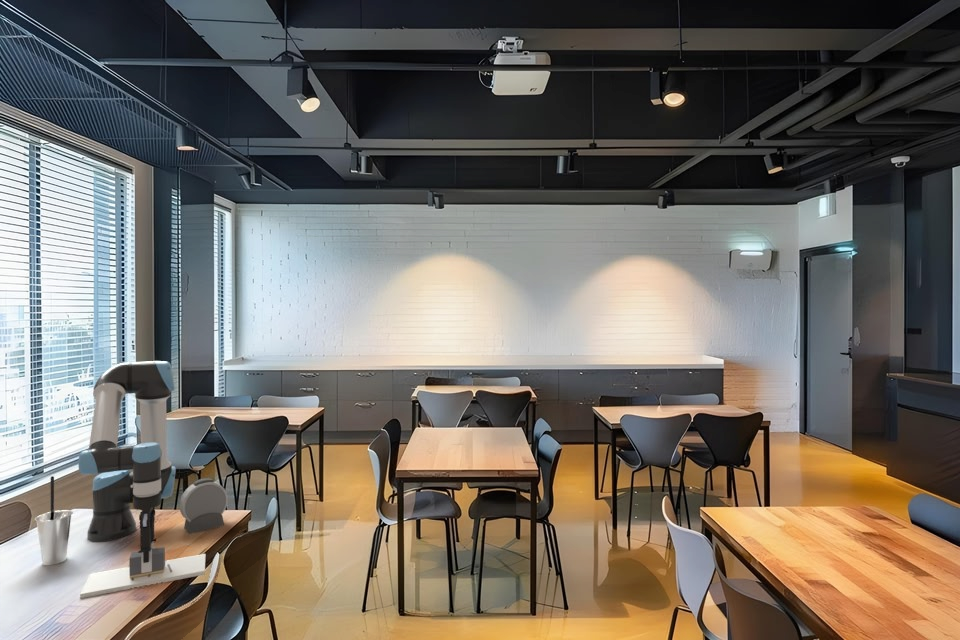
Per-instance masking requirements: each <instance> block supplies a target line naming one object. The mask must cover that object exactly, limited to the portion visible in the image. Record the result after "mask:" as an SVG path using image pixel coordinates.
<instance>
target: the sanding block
mask: <svg viewBox="0 0 960 640" xmlns="http://www.w3.org/2000/svg"><path fill="white" fill-rule="evenodd" d="M138 551H139V550H138ZM138 551H132V552H131V554H130V556H129V559H128V560H129V566H128V567H129V571H130V578H133V577H139V576H144V575H149V574H155V573H160V572H164V568H165V561H166V547H165V546H161V547H154V549H152V571H151V572H146V573H141V553H138Z"/></svg>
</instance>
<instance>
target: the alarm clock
mask: <svg viewBox="0 0 960 640" xmlns="http://www.w3.org/2000/svg"><path fill="white" fill-rule="evenodd" d="M228 502H229V497H228V492H227V490H226V489H225V488H224V487H223V486H222V485H221V484H219V482H216V481H215V479H213V478H208V477H207V478H206V477H205V478H203V477H202V478H200V479H198V480H195V481H194V482H193V483H192V484H190V485H189V486H188V487H187V488H186V489H185V491H183V493H182V494H181V498H180V499H179V512H180V514H181V516H182V518H184V519H185V520H184V526H183V527H184V528H183V529H184V530H185V531H186V532H187V533H188V534H195V533H201V532H205V531H209V530H213V529H217V528H219V527H222V526H224V525H225V523H224V517H223V514H224V512H225V511H226V508H227V507H228Z"/></svg>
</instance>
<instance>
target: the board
mask: <svg viewBox="0 0 960 640" xmlns="http://www.w3.org/2000/svg"><path fill="white" fill-rule="evenodd" d="M206 557H207V555H206V553H201V554H196V555H190V556H183V557H179V558H177V557H176V558H172V559H168V560H166V559H165V568H164V572H160V573H155V574H149V575H144V576H139V577H133V578H130V571H129V566H127V567H119V568H116V569H110V570H104V571H98V572H92V573H90V574H89V575H88V577H87V580H86V581H85V584H84V586H83V588H82V589H81V592H80V594H79V599H83V598H89V597H94V596H99V595H106V594H109V593H115V592H121V591H126V590H131V589H130V588H132V589H135V588H134V587H137V588H140V587H139V586H142V587H144V586H143V585H147V586H151V585H150V584H153V585H157V584H156V583H158V584H161V582H163V583H168V582H173V581H178V580H183V579H188V578H189V579H190V578H193V577H199V576H203V575H204V576H205V572H206Z"/></svg>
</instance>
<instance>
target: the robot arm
mask: <svg viewBox="0 0 960 640" xmlns="http://www.w3.org/2000/svg"><path fill="white" fill-rule="evenodd" d="M175 389H176V386H175V379H174V373H173V369H172V364H171V363H170V362H169V361H164V360H163V361H161V360H153V361H152V360H151V361H150V360H149V361H135V362H134V361H133V362H132V361H131V362H127V361H126V362H121V363H117V364H115V365H113V366H111V367H110V368H108V369H106V370H105V371H104V372H103V373H102V374H101V376H99V378H98V379H97V381H96V382H95V384H94V386H93V393H92V395H93V398H94V399H95V404H94V410H93V417H92V424H91V431H90V437H89V445H88V449H86V450H81V451H80V453H79V455H78V464H77V465H78V471H79V474H80V475H87V476H88V475H96V476H95V477H94V478H93V480H92V481H93V482H92V488H91V491H92V517H91V521H90V523H89V526H88V530H87V534H86V535H87V540H88V541H92V542H103V541H104V542H105V541H112V540H116V539H120V538H124V537H127V536H129V535H131V534H133V533H134V532H135V531H136V530H137V522H136V520H135V517H134V515H133V512H132V510H131V504H132V508H133V509H135V510H139V511H140V514H139V516H138V519H139V531H140V532H139V533H140V535H139V536H140V537H139V538H140V540H139V541H140V543H139V544H140V545H139V546H140V550H138V553H141V573H146V572H151V571H152V549H154V548H155V542H157V538H155V537H156V536H155V521H156V520H155V519H156V518H155V516H156V508H157V507H158V506H160V505H161V504H162V499H167V498H170V497H171V496H172V494H173V493H174V486H175V479H176V478H175V477H176V471H177V469H176V466H174V465H172V462H171V461H170V460H169V459H168V449H167V447H168V446H167V445H168V442H167V441H168V439H167V438H168V437H167V400H168V398H170V397H171V395H172V393H171V392H174V391H175ZM126 394H127V395H128V394H129V395H132V394H134V397H135V398H134V399H135V400H137V401H138V402H139V411H140V412H139V414H140V415H139V416H140V417H139V421H140V424H139V425H140V427H139V428H140V443H138V444H136V445H128V446H127V445H125V446H118V439H119V429H120V419H121V408H122V400H123V399H124V398H125V396H126ZM131 470H132V471H131Z"/></svg>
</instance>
